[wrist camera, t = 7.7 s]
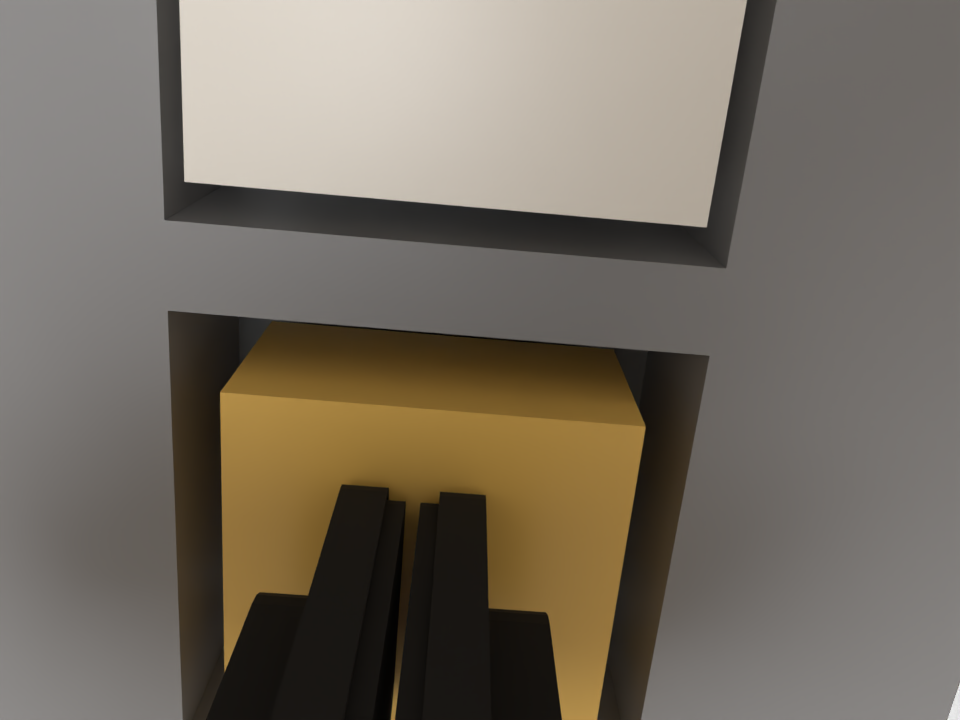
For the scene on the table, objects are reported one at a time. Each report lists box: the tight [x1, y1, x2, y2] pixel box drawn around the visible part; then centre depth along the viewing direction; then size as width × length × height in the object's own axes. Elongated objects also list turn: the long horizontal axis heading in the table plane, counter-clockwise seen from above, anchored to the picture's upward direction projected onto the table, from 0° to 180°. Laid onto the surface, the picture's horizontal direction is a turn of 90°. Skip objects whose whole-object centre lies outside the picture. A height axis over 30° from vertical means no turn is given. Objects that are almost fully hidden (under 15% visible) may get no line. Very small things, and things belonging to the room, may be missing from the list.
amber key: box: [220, 321, 646, 720], centre depth 11 cm, size 5×5×2 cm
